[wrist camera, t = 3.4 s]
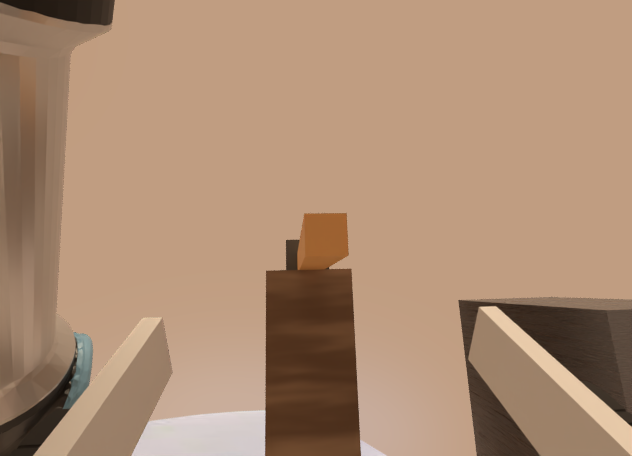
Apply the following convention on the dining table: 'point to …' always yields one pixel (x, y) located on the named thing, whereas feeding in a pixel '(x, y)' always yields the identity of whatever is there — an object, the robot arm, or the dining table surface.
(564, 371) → the robot arm
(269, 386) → the walnut post
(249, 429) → the dining table surface
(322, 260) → the orange bar
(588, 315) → the charcoal post
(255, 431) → the dining table surface
